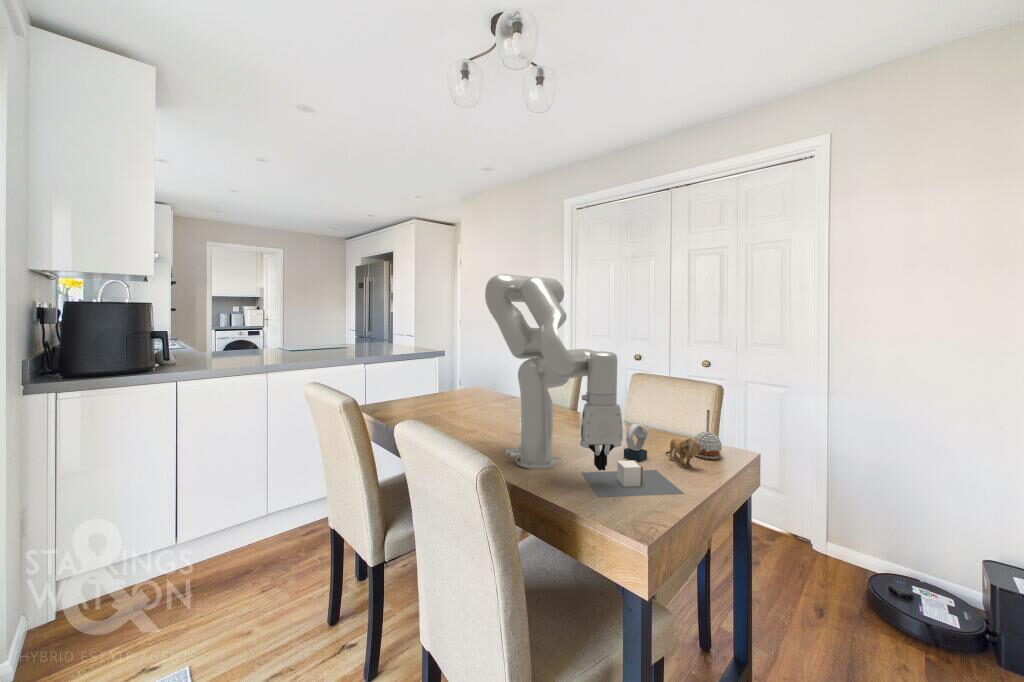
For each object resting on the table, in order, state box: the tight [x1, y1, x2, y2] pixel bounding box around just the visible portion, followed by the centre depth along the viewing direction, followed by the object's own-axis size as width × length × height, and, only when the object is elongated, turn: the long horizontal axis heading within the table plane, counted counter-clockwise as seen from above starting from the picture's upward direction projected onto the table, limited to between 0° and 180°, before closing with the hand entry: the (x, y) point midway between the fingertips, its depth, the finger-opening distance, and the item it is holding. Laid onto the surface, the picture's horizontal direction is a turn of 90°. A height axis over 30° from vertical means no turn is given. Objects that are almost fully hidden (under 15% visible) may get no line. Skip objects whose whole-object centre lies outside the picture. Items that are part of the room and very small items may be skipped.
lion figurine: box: [665, 437, 703, 469], centre depth 126 cm, size 15×5×9 cm, turn 15°
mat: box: [580, 469, 685, 498], centre depth 110 cm, size 22×16×1 cm
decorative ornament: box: [694, 409, 722, 460], centre depth 132 cm, size 8×8×15 cm
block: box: [616, 460, 644, 487], centre depth 110 cm, size 5×5×5 cm
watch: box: [623, 423, 649, 463], centre depth 129 cm, size 6×8×11 cm
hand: (600, 468), depth 109 cm, fingers closed
